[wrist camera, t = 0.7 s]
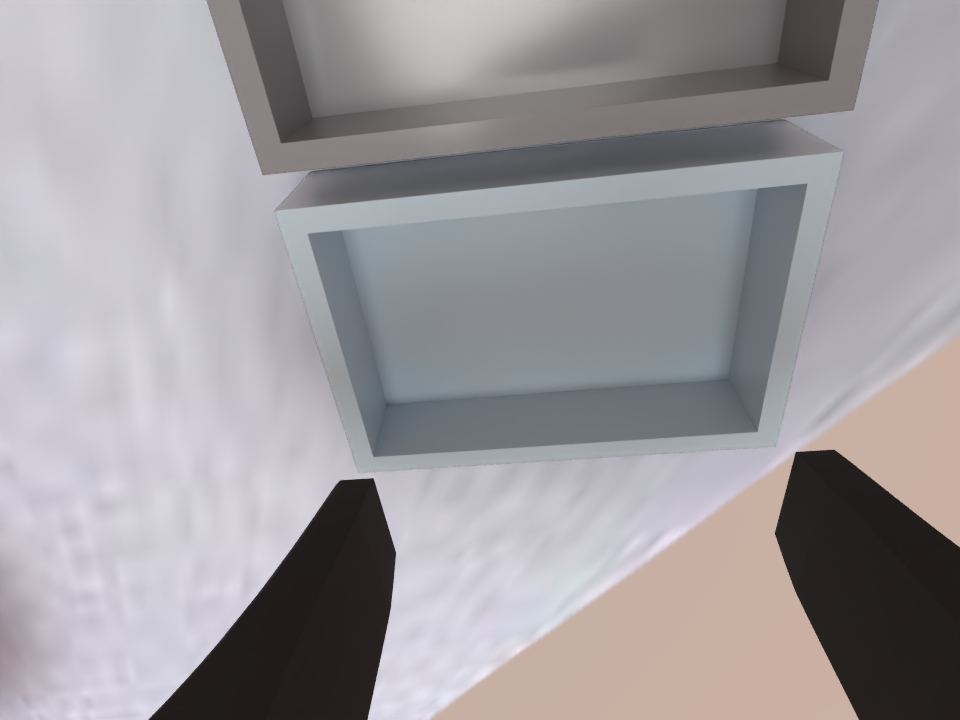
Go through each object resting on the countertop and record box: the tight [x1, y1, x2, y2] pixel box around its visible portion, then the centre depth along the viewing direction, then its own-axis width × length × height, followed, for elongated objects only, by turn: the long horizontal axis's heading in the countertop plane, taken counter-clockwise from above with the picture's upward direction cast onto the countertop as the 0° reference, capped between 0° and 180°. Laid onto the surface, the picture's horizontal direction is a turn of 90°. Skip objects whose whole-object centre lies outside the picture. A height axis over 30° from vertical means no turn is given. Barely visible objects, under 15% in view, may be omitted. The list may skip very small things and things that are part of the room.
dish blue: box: [274, 120, 844, 473], centre depth 16 cm, size 12×8×3 cm
